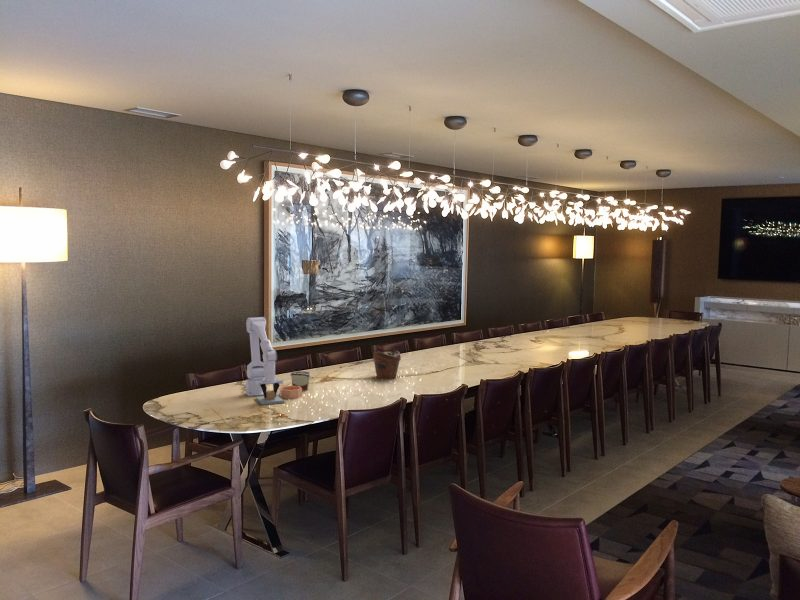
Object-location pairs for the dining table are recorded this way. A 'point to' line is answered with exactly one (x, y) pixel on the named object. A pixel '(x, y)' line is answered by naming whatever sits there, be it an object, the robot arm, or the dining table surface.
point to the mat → (269, 403)
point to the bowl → (290, 391)
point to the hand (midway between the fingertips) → (269, 397)
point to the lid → (269, 398)
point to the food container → (300, 379)
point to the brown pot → (386, 363)
